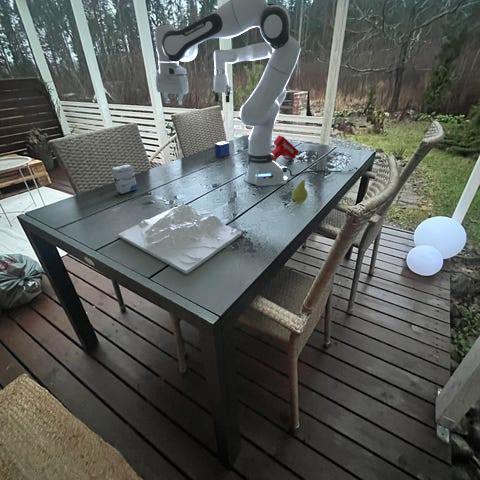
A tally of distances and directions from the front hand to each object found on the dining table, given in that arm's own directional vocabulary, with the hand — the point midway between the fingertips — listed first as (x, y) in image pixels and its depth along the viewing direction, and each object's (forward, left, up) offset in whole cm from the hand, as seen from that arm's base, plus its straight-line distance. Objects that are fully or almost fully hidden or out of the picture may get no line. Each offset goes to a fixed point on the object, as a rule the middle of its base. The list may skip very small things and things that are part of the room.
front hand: (173, 103), depth 130 cm
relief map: (-11, +62, -36) cm, 73 cm away
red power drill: (-60, -32, -36) cm, 77 cm away
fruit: (-59, +33, -36) cm, 77 cm away
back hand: (-19, -64, -6) cm, 67 cm away
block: (-19, -43, -36) cm, 60 cm away
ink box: (+24, +19, -36) cm, 48 cm away
